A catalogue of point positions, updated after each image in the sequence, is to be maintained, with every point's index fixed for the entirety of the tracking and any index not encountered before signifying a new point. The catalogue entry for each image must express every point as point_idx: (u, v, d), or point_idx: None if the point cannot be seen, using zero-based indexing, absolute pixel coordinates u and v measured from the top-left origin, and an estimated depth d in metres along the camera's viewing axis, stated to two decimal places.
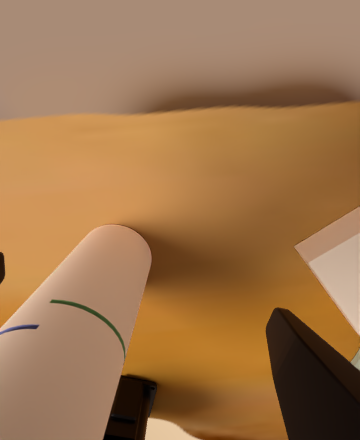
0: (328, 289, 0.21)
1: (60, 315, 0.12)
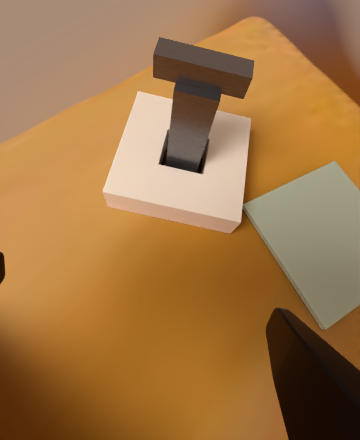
0: (143, 199, 0.21)
1: None
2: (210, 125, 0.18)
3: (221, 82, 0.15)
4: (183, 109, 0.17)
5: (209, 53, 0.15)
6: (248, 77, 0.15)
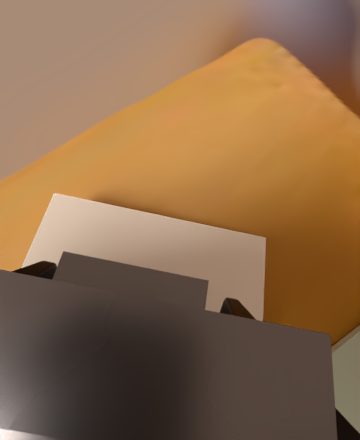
0: None
1: None
2: None
3: None
4: None
5: (127, 322, 0.03)
6: None
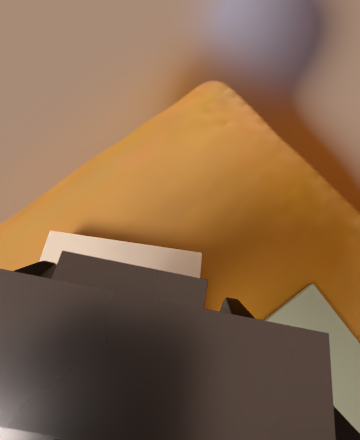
0: None
1: None
2: None
3: None
4: None
5: (126, 321, 0.03)
6: None
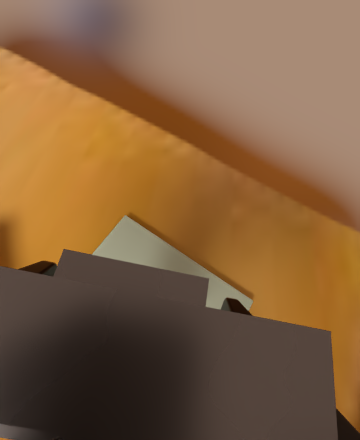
0: None
1: None
2: None
3: None
4: None
5: (128, 319, 0.03)
6: None
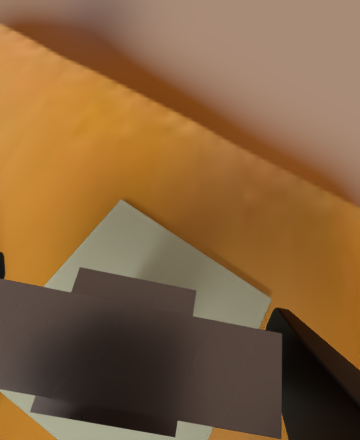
0: None
1: None
2: None
3: None
4: None
5: (132, 324, 0.04)
6: (267, 434, 0.04)
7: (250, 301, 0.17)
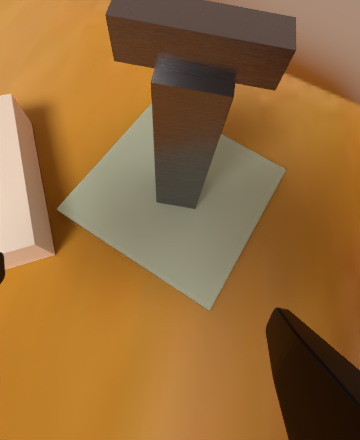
0: None
1: None
2: (217, 136, 0.11)
3: (236, 62, 0.08)
4: (171, 114, 0.10)
5: (212, 8, 0.08)
6: (288, 48, 0.08)
7: (267, 171, 0.20)
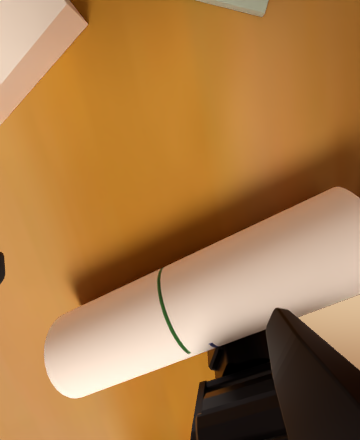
0: None
1: (194, 342, 0.17)
2: None
3: None
4: None
5: None
6: None
7: None
